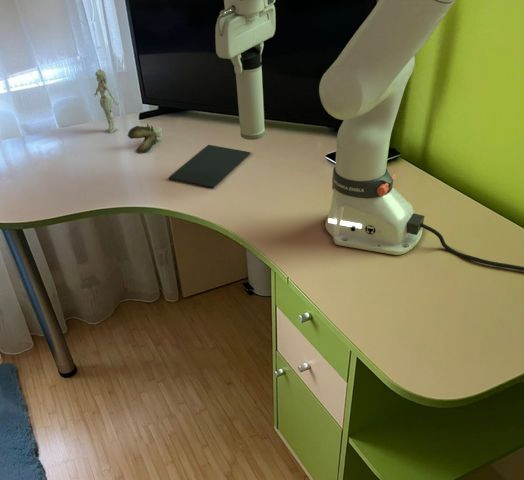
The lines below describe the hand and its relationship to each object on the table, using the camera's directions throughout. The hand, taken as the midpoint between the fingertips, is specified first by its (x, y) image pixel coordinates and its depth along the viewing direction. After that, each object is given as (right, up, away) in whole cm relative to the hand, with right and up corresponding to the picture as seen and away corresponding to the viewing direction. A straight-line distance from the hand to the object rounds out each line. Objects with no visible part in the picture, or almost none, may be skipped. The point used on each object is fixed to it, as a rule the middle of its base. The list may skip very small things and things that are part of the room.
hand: (248, 67), depth 132 cm
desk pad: (-11, -15, +24) cm, 31 cm away
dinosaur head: (-31, -6, +36) cm, 48 cm away
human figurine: (-45, +3, +45) cm, 64 cm away
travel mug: (+1, -12, +11) cm, 16 cm away
